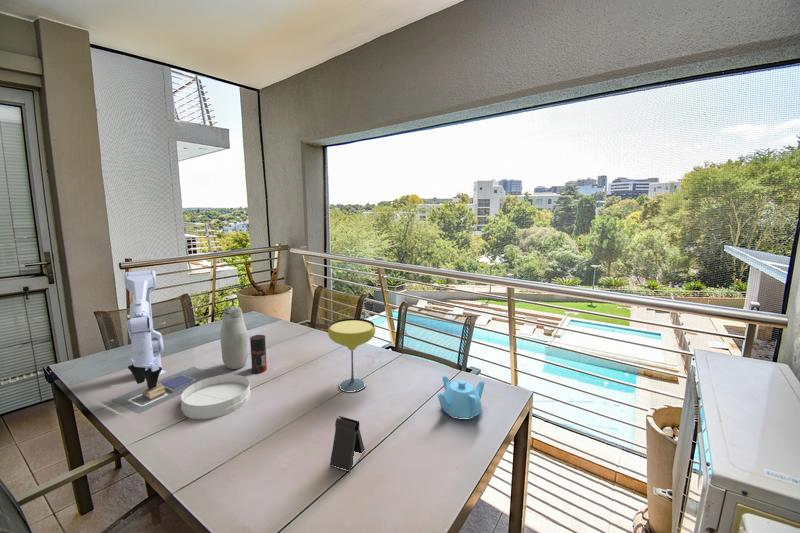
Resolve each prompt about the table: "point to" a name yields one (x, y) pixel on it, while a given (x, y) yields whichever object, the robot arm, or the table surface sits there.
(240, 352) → the glass bottle
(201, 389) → the dish
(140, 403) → the desk mat
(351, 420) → the phone stand
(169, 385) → the ink pad
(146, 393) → the stamp
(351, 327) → the cocktail glass
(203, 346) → the table surface
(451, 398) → the teapot
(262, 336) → the deodorant
